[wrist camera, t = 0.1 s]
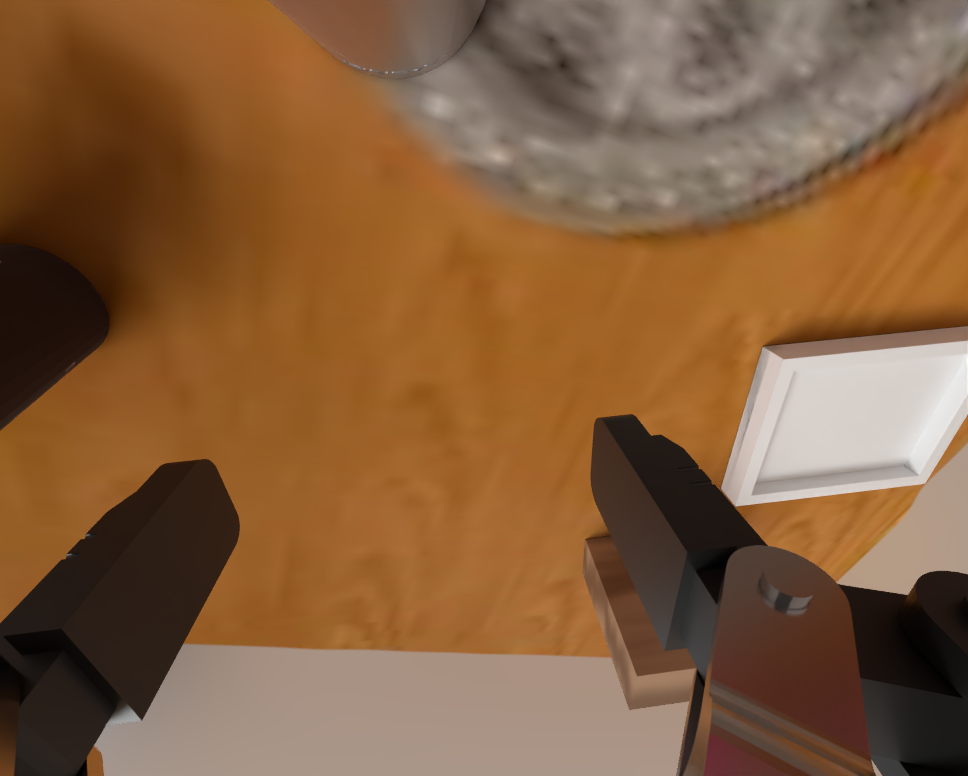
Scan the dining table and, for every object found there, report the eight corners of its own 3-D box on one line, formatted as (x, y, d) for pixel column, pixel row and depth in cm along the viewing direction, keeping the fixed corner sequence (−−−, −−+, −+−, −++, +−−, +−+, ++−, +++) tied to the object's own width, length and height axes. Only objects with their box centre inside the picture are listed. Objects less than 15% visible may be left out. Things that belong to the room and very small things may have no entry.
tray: (762, 346, 29) (783, 359, 27) (982, 324, 30) (1015, 335, 28) (720, 488, 35) (735, 506, 34) (901, 467, 36) (924, 483, 34)
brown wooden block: (585, 539, 37) (637, 676, 27) (635, 533, 37) (704, 666, 28) (582, 572, 39) (629, 709, 30) (630, 566, 39) (691, 700, 30)
